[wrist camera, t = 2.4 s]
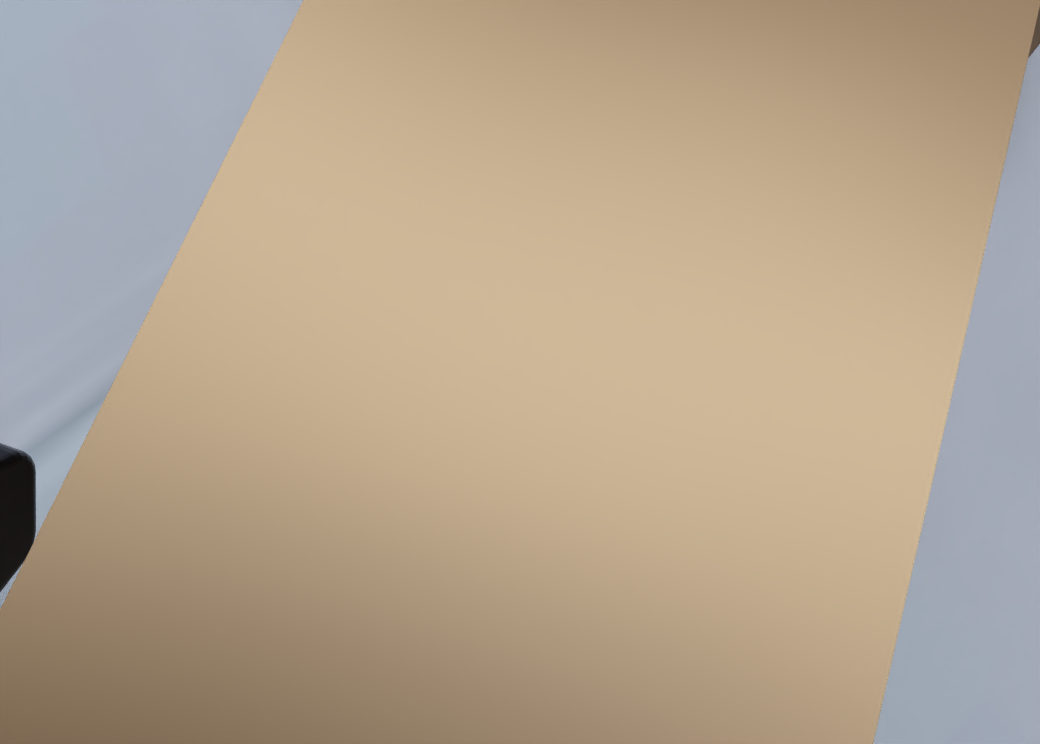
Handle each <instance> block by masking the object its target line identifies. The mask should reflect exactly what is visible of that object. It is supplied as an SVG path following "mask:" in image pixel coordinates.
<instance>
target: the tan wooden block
mask: <svg viewBox="0 0 1040 744" xmlns="http://www.w3.org/2000/svg"><path fill="white" fill-rule="evenodd" d="M1039 7H1040V0H303V2H302V4H301V6H300V8H299V10H298V12H297V14H296V16H295V18H294V21H293V23H292V25H291V27H290V29H289V31H288V33H287V35H286V37H285V39H284V41H283V43H282V45H281V47H280V49H279V51H278V53H277V55H276V57H275V59H274V61H273V63H272V65H271V67H270V69H269V71H268V73H267V75H266V77H265V79H264V81H263V83H262V85H261V87H260V89H259V91H258V93H257V95H256V97H255V99H254V101H253V103H252V105H251V107H250V109H249V111H248V113H247V115H246V117H245V119H244V121H243V123H242V125H241V127H240V129H239V131H238V133H237V135H236V137H235V139H234V141H233V143H232V145H231V147H230V149H229V151H228V153H227V155H226V157H225V159H224V161H223V163H222V165H221V167H220V169H219V171H218V173H217V175H216V177H215V179H214V181H213V183H212V185H211V187H210V189H209V191H208V193H207V195H206V197H205V199H204V201H203V203H202V205H201V207H200V209H199V211H198V213H197V215H196V217H195V219H194V221H193V223H192V225H191V227H190V229H189V231H188V233H187V235H186V237H185V239H184V241H183V244H182V246H181V248H180V250H179V252H178V254H177V256H176V258H175V260H174V262H173V264H172V266H171V268H170V270H169V272H168V274H167V276H166V278H165V280H164V282H163V284H162V286H161V288H160V290H159V292H158V294H157V296H156V298H155V300H154V302H153V304H152V306H151V308H150V310H149V312H148V314H147V316H146V318H145V320H144V322H143V324H142V326H141V328H140V330H139V332H138V334H137V336H136V338H135V340H134V342H133V344H132V346H131V348H130V350H129V352H128V354H127V356H126V358H125V360H124V362H123V364H122V366H121V368H120V370H119V372H118V374H117V376H116V378H115V380H114V382H113V384H112V386H111V388H110V390H109V392H108V394H107V396H106V398H105V400H104V402H103V404H102V406H101V408H100V410H99V412H98V414H97V416H96V418H95V420H94V422H93V424H92V426H91V428H90V430H89V432H88V434H87V436H86V438H85V440H84V442H83V444H82V446H81V448H80V450H79V452H78V454H77V456H76V458H75V460H74V462H73V464H72V467H71V469H70V471H69V473H68V475H67V477H66V479H65V481H64V483H63V485H62V487H61V489H60V491H59V493H58V495H57V497H56V499H55V501H54V503H53V505H52V507H51V509H50V511H49V513H48V515H47V517H46V519H45V521H44V523H43V525H42V527H41V529H40V531H39V533H38V535H37V537H36V539H35V541H34V543H33V545H32V547H31V549H30V551H29V553H28V555H27V557H26V559H25V561H24V563H23V565H22V567H21V569H20V571H19V573H18V575H17V577H16V579H15V581H14V583H13V585H12V587H11V589H10V591H9V593H8V595H7V597H6V599H5V601H4V603H3V605H2V607H1V609H0V744H873V742H874V737H875V733H876V729H877V724H878V720H879V715H880V711H881V706H882V702H883V698H884V693H885V689H886V684H887V680H888V676H889V671H890V667H891V662H892V658H893V653H894V649H895V645H896V640H897V636H898V631H899V627H900V622H901V618H902V614H903V609H904V605H905V600H906V596H907V591H908V587H909V583H910V578H911V574H912V569H913V565H914V560H915V556H916V552H917V547H918V543H919V538H920V534H921V529H922V525H923V521H924V516H925V512H926V507H927V503H928V498H929V494H930V490H931V485H932V481H933V476H934V472H935V467H936V463H937V459H938V454H939V450H940V445H941V441H942V436H943V432H944V428H945V423H946V419H947V414H948V410H949V405H950V401H951V397H952V392H953V388H954V383H955V379H956V374H957V370H958V366H959V361H960V357H961V352H962V348H963V343H964V339H965V335H966V330H967V326H968V321H969V317H970V312H971V308H972V304H973V299H974V295H975V290H976V286H977V281H978V277H979V273H980V268H981V264H982V259H983V255H984V251H985V246H986V242H987V237H988V233H989V228H990V224H991V220H992V215H993V211H994V206H995V202H996V197H997V193H998V189H999V184H1000V180H1001V175H1002V171H1003V166H1004V162H1005V158H1006V153H1007V149H1008V144H1009V140H1010V135H1011V131H1012V127H1013V122H1014V118H1015V113H1016V109H1017V104H1018V100H1019V96H1020V91H1021V87H1022V82H1023V78H1024V73H1025V69H1026V65H1027V60H1028V56H1029V51H1030V47H1031V42H1032V38H1033V34H1034V29H1035V25H1036V20H1037V16H1038V11H1039Z"/></svg>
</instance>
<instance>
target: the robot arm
mask: <svg viewBox="0 0 1040 744" xmlns="http://www.w3.org/2000/svg"><path fill="white" fill-rule="evenodd" d="M35 532H36V471H35V464H34V462H33V460H32V458H31V457H30V456H29V455H28V454H26V453H25V452H23V451H21V450H18V449H15V448H12V447H9V446H7V445H4V444H1V443H0V592H1V591H2V589H3V588H4V587H5V585H6V584H7V583H8V582H9V580H10V579H11V578H12V576H13V575H14V574H15V573H16V571H17V570H18V569H19V567H20V566H21V565H22V564H23V562H24V561H25V559H26V557H27V555H28V553H29V551H30V549H31V547H32V545H33V542H34V538H35Z"/></svg>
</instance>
